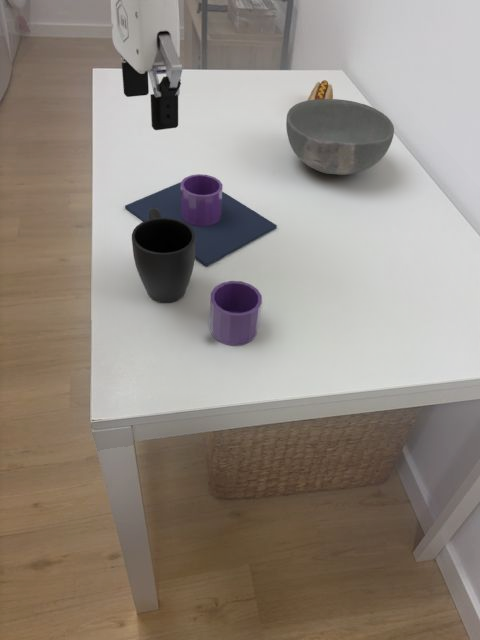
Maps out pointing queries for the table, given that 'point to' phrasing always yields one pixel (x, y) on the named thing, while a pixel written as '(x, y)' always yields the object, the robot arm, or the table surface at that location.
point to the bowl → (338, 135)
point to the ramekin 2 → (235, 312)
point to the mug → (164, 256)
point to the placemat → (211, 240)
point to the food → (321, 91)
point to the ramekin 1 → (201, 200)
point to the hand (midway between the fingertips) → (150, 110)
